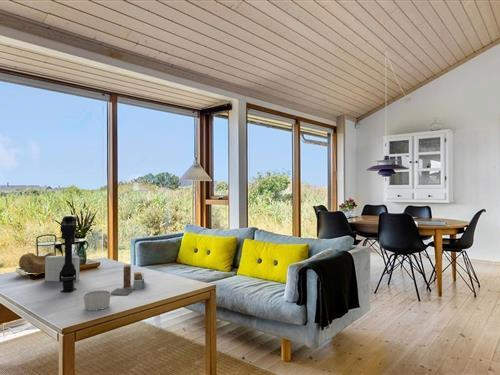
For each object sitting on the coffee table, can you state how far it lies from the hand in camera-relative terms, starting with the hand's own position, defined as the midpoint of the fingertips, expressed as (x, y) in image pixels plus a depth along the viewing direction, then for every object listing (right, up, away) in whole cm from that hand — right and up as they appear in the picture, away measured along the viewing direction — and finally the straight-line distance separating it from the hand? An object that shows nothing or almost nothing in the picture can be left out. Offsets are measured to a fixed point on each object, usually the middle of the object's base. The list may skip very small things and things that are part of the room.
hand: (70, 255), depth 245 cm
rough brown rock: (-26, -15, +8) cm, 31 cm away
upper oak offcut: (+52, -12, -18) cm, 56 cm away
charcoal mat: (+46, -16, -32) cm, 59 cm away
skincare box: (-2, -16, -7) cm, 17 cm away
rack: (+52, -16, -18) cm, 57 cm away
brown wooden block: (+45, -16, -20) cm, 52 cm away
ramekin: (+43, -17, -57) cm, 73 cm away
